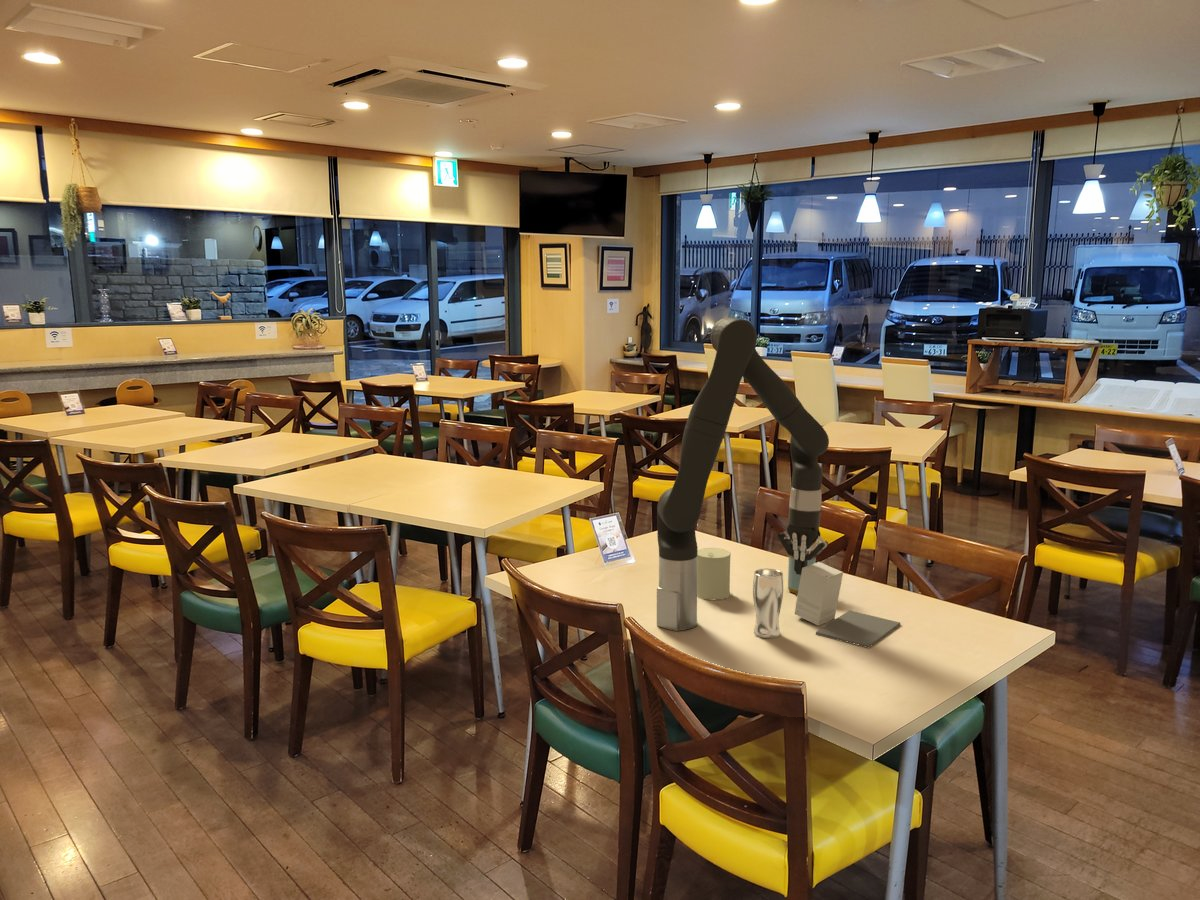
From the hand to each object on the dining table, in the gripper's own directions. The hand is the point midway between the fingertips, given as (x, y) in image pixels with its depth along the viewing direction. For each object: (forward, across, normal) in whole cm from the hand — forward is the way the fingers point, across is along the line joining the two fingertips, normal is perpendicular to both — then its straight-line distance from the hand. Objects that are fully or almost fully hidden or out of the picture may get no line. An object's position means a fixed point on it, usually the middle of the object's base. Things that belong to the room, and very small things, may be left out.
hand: (800, 573), depth 216 cm
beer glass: (+11, 0, -16) cm, 19 cm away
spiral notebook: (+10, +16, 0) cm, 19 cm away
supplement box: (+10, +4, 0) cm, 11 cm away
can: (+12, -25, 0) cm, 27 cm away
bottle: (+11, -8, +16) cm, 21 cm away
